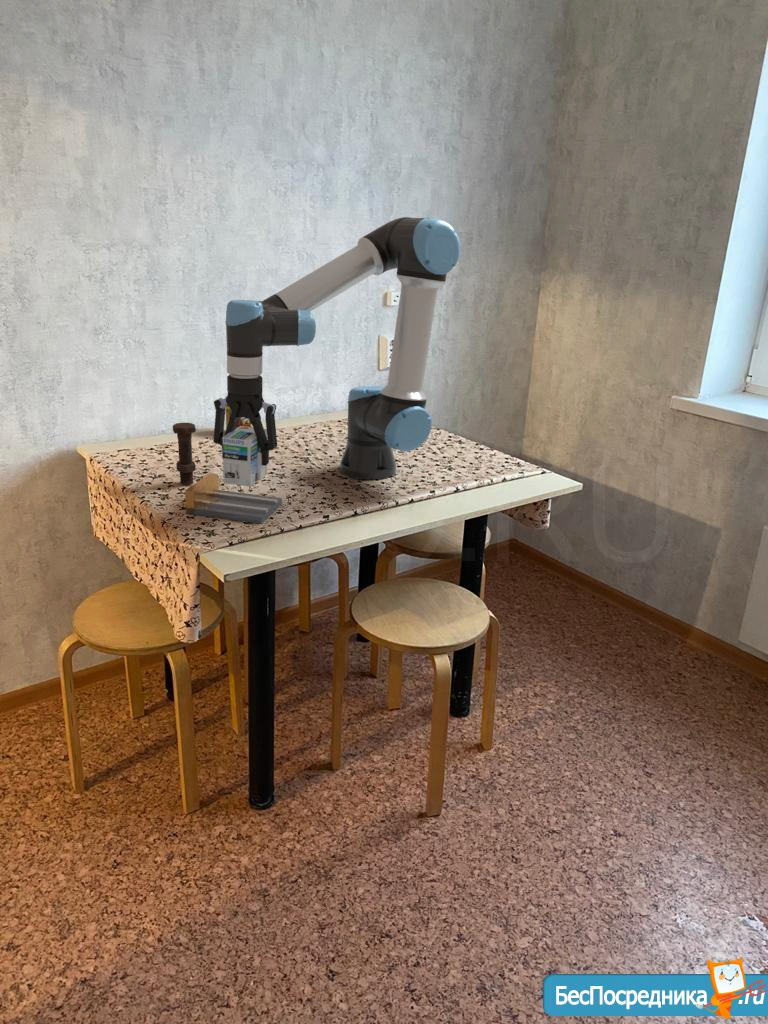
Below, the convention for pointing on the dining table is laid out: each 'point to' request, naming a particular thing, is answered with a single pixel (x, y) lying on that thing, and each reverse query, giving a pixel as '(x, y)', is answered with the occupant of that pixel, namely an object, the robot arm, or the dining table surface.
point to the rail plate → (228, 502)
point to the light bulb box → (241, 456)
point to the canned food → (241, 421)
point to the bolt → (185, 451)
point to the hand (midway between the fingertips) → (245, 476)
